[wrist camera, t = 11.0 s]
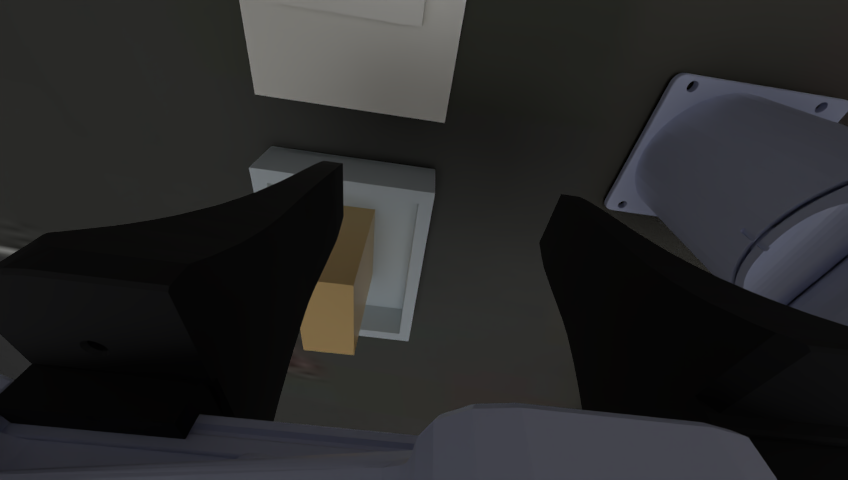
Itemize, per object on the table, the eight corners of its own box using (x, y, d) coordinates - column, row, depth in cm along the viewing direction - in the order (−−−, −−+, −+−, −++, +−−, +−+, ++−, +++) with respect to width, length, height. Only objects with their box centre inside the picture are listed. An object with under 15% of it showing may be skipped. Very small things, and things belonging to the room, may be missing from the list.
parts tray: (435, 169, 20) (435, 193, 18) (410, 311, 29) (408, 341, 26) (271, 145, 20) (248, 167, 17) (294, 298, 28) (281, 326, 26)
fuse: (375, 209, 22) (353, 285, 16) (372, 274, 25) (353, 355, 20) (329, 203, 22) (292, 278, 16) (333, 270, 25) (303, 349, 20)
